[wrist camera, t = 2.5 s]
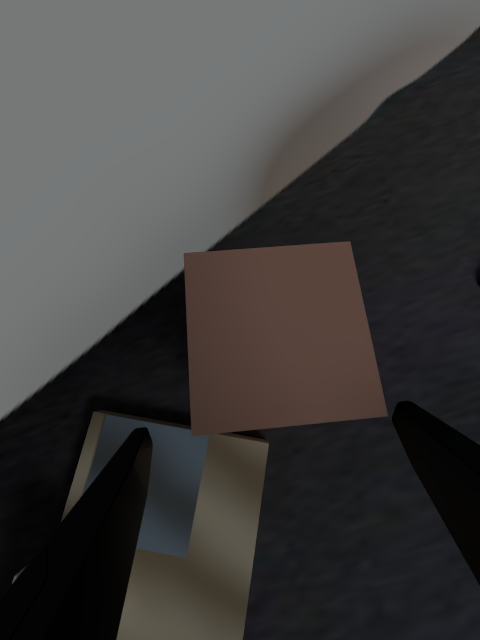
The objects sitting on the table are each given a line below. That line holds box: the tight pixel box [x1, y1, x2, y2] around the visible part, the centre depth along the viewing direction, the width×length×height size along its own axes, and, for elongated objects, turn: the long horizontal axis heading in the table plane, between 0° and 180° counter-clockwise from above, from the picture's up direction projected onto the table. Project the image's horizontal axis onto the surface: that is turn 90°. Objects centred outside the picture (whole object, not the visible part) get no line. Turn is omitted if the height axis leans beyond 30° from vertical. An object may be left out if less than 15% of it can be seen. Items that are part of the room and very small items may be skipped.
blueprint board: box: [61, 410, 269, 640], centre depth 16 cm, size 16×12×1 cm
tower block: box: [184, 242, 388, 436], centre depth 13 cm, size 5×5×13 cm
